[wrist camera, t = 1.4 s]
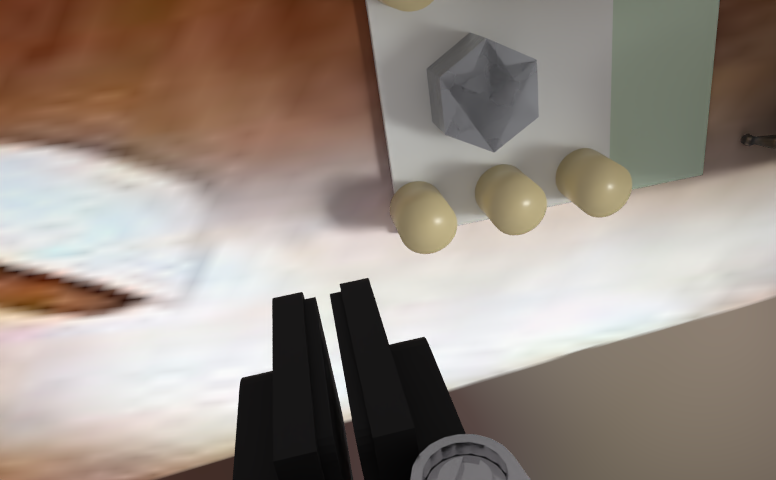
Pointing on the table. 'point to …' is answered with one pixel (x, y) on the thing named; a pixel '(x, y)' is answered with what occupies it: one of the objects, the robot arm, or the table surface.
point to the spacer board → (545, 108)
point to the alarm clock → (759, 140)
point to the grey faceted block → (483, 92)
